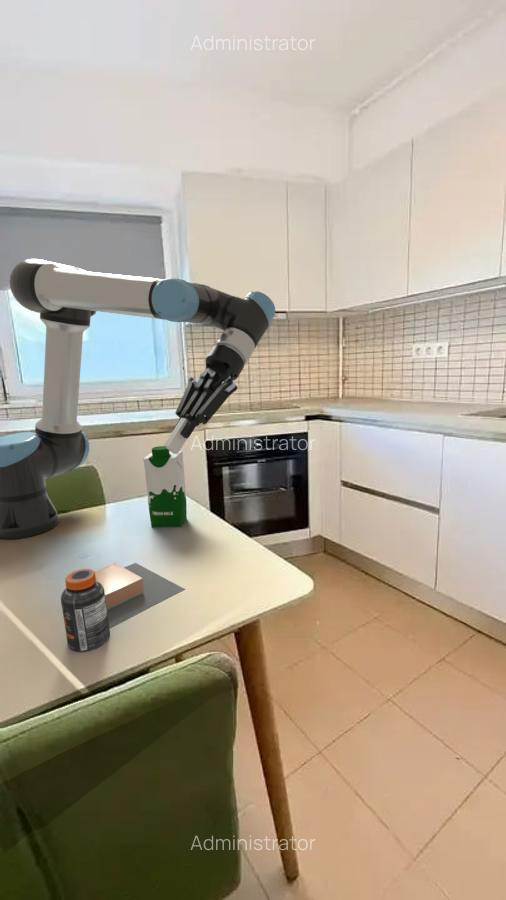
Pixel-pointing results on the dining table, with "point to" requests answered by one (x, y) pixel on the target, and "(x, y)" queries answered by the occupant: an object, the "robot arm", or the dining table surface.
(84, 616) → the pill bottle
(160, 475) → the milk carton
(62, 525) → the dining table surface
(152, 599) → the mat
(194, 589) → the dining table surface
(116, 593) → the tile
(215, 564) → the dining table surface
